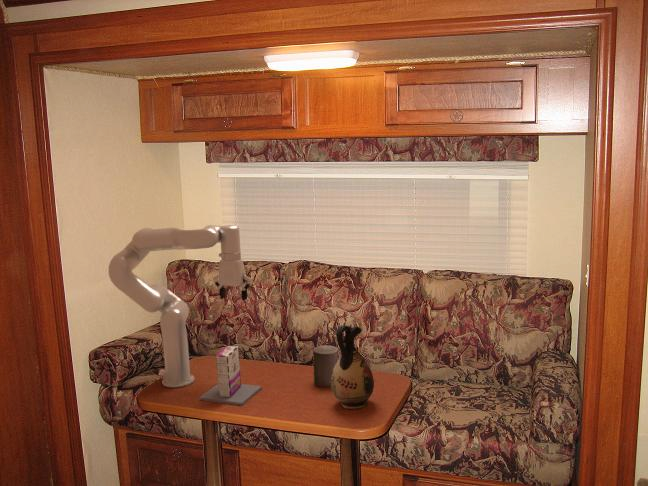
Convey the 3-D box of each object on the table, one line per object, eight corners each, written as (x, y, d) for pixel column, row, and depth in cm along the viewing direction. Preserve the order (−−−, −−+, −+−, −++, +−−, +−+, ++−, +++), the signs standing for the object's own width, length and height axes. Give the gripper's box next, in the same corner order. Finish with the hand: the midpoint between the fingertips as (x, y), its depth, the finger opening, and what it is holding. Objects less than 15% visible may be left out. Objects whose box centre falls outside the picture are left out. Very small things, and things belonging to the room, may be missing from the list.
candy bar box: (229, 385, 239) (227, 345, 236) (241, 386, 238) (239, 345, 235) (218, 397, 228) (215, 355, 226) (230, 398, 227) (228, 355, 224)
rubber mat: (199, 399, 229) (199, 397, 229) (221, 383, 244) (221, 381, 244) (242, 405, 223) (241, 403, 222) (261, 388, 237) (261, 386, 237)
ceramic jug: (348, 391, 231) (346, 315, 227) (382, 401, 222) (381, 321, 217) (320, 407, 219) (316, 326, 214) (354, 418, 209) (352, 334, 204)
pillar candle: (310, 385, 239) (309, 348, 236) (319, 376, 248) (318, 340, 245) (333, 388, 235) (332, 351, 233) (342, 379, 244) (341, 343, 242)
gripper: (207, 257, 240) (209, 300, 243) (246, 259, 234) (248, 302, 237) (216, 254, 247) (219, 295, 250) (255, 255, 241) (257, 297, 244)
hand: (233, 298), depth 243 cm, fingers open, 9 cm apart
